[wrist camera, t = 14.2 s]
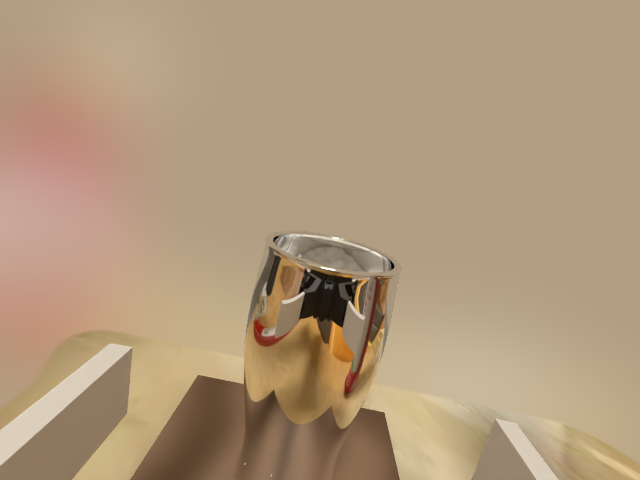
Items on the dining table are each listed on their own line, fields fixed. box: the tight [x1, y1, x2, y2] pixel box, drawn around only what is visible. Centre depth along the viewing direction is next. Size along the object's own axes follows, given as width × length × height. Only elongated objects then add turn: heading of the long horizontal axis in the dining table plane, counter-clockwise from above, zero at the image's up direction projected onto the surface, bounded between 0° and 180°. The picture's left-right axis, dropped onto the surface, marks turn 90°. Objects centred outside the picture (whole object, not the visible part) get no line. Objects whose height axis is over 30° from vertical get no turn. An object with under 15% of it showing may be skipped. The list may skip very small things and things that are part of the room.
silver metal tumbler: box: [229, 231, 401, 480], centre depth 17 cm, size 7×7×15 cm
